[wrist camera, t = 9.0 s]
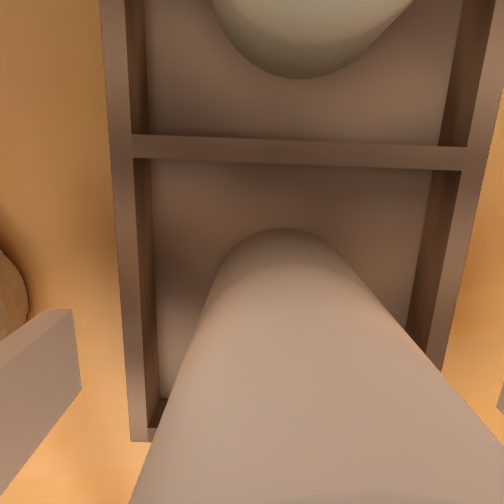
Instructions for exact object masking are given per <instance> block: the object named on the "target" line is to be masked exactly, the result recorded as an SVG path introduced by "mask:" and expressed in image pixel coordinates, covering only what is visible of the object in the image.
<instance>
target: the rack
mask: <svg viewBox="0 0 504 504" xmlns="http://www.w3.org/2000/svg"><path fill="white" fill-rule="evenodd" d="M99 2H100V16H101V30H102V44H103V58H104V72H105V86H106V101H107V115H108V129H109V143H110V157H111V171H112V185H113V199H114V214H115V228H116V242H117V256H118V270H119V284H120V298H121V312H122V327H123V341H124V355H125V369H126V383H127V397H128V411H129V425H130V439H131V442H152V441H153V438H154V436H155V433H156V430H157V428H158V425H159V423H160V420H161V417H162V415H163V412H164V410H165V407H166V404H167V402H168V399H169V396H170V394H171V391H172V389H173V386H174V383H175V381H176V378H177V376H178V373H179V370H180V368H181V365H182V363H183V360H184V357H185V355H186V352H187V350H188V347H189V344H190V342H191V339H192V337H193V334H194V331H195V329H196V326H197V323H198V321H199V318H200V316H201V313H202V310H203V308H204V305H205V303H206V300H207V297H208V295H209V292H210V290H211V287H212V284H213V282H214V279H215V277H216V274H217V271H218V269H219V267H220V265H221V263H222V261H223V259H224V258H225V257H226V255H227V254H228V253H229V252H230V251H231V250H232V249H233V248H234V247H235V246H236V245H237V244H238V243H240V242H241V241H242V240H244V239H246V238H247V237H249V236H251V235H253V234H255V233H258V232H261V231H264V230H268V229H275V228H293V229H299V230H303V231H306V232H309V233H312V234H314V235H316V236H318V237H320V238H322V239H323V240H325V241H326V242H327V243H329V244H330V245H331V246H332V247H333V248H334V249H335V250H336V251H337V252H338V253H339V254H340V256H341V257H342V258H343V259H344V260H345V261H346V263H347V264H348V265H349V266H350V267H351V268H352V270H353V271H354V272H355V273H356V274H357V276H358V277H359V278H360V279H361V280H362V281H363V283H364V284H365V285H366V286H367V287H368V288H369V290H370V291H371V292H372V293H373V294H374V295H375V297H376V298H377V299H378V300H379V301H380V302H381V304H382V305H383V306H384V307H385V308H386V309H387V311H388V312H389V313H390V314H391V315H392V316H393V318H394V319H395V320H396V321H397V322H398V323H399V325H400V326H401V327H402V328H403V329H404V330H405V332H406V333H407V334H408V335H409V336H410V337H411V339H412V340H413V341H414V342H415V343H416V344H417V346H418V347H419V348H420V349H421V350H422V351H423V353H424V354H425V355H426V356H427V357H428V358H429V360H430V361H431V362H432V363H433V364H434V365H435V367H436V368H437V369H438V370H439V371H440V372H441V370H442V365H443V361H444V356H445V352H446V347H447V342H448V338H449V333H450V329H451V324H452V319H453V315H454V310H455V306H456V301H457V296H458V292H459V287H460V283H461V278H462V273H463V269H464V264H465V260H466V255H467V250H468V246H469V241H470V237H471V232H472V227H473V223H474V218H475V214H476V209H477V204H478V200H479V195H480V191H481V186H482V181H483V177H484V172H485V168H486V163H487V158H488V154H489V149H490V145H491V140H492V135H493V131H494V126H495V122H496V117H497V112H498V108H499V103H500V99H501V94H502V89H503V85H504V0H413V1H412V2H411V3H410V4H409V5H408V7H407V8H406V9H405V10H404V11H403V12H402V13H401V14H400V15H399V16H398V17H397V18H396V19H395V20H394V21H393V22H392V23H391V24H390V25H389V26H388V27H387V28H386V30H385V31H384V32H383V33H382V34H381V35H380V36H379V37H378V38H377V39H376V40H375V41H374V42H373V43H372V44H371V45H370V46H369V47H368V48H367V49H366V50H365V51H364V52H363V53H362V54H361V55H360V56H359V57H358V58H356V59H355V60H354V61H353V62H351V63H350V64H348V65H347V66H345V67H343V68H341V69H339V70H337V71H335V72H333V73H331V74H328V75H325V76H322V77H317V78H311V79H290V78H283V77H279V76H276V75H273V74H270V73H268V72H266V71H263V70H261V69H260V68H258V67H256V66H255V65H253V64H252V63H251V62H249V61H248V60H247V59H246V58H244V57H243V56H242V55H241V54H240V53H239V52H238V51H237V50H236V49H235V47H234V46H233V45H232V43H231V42H230V41H229V39H228V38H227V36H226V35H225V33H224V31H223V29H222V27H221V26H220V23H219V21H218V19H217V16H216V14H215V11H214V7H213V4H212V0H99Z"/></svg>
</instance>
